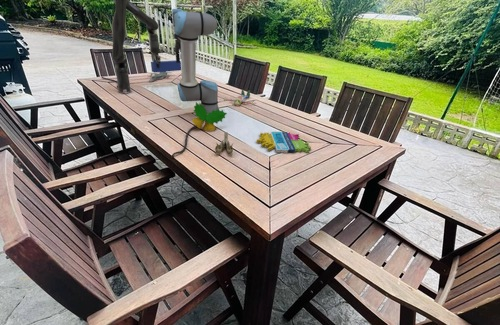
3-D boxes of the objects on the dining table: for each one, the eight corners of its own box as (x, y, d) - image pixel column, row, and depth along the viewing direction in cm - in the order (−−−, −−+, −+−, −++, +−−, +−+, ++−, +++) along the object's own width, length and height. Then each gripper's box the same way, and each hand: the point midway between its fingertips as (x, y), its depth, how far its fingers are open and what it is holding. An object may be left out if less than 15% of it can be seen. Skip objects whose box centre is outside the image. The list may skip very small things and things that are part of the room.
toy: (261, 91, 228) (254, 99, 202) (261, 99, 231) (253, 108, 205) (231, 87, 233) (220, 95, 207) (230, 95, 236) (219, 104, 210)
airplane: (141, 75, 284) (140, 65, 279) (171, 73, 297) (170, 64, 292) (147, 84, 255) (146, 73, 250) (179, 82, 269) (178, 72, 264)
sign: (313, 150, 142) (258, 149, 139) (312, 153, 143) (258, 152, 140) (301, 132, 164) (254, 130, 161) (301, 134, 165) (254, 133, 162)
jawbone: (234, 135, 144) (233, 125, 135) (233, 160, 138) (232, 151, 129) (217, 135, 144) (216, 125, 135) (216, 160, 138) (214, 150, 129)
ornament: (218, 133, 171) (224, 110, 169) (221, 134, 163) (227, 111, 161) (186, 125, 162) (192, 101, 160) (189, 126, 155) (195, 101, 153)
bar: (178, 69, 251) (178, 60, 247) (181, 70, 248) (180, 61, 244) (151, 71, 235) (150, 61, 231) (154, 72, 231) (153, 62, 227)
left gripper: (147, 45, 228) (149, 66, 236) (154, 47, 219) (156, 69, 227) (155, 45, 232) (157, 65, 240) (162, 47, 223) (164, 68, 231)
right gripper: (168, 31, 198) (171, 61, 208) (179, 34, 179) (181, 67, 190) (178, 32, 201) (180, 61, 212) (189, 34, 183) (191, 66, 193)
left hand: (156, 67), depth 234 cm, fingers closed on bar, 5 cm apart
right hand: (180, 64), depth 201 cm, fingers open, 13 cm apart
